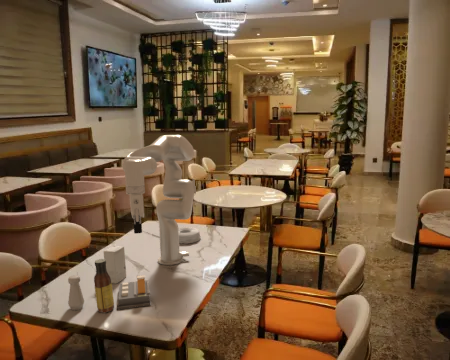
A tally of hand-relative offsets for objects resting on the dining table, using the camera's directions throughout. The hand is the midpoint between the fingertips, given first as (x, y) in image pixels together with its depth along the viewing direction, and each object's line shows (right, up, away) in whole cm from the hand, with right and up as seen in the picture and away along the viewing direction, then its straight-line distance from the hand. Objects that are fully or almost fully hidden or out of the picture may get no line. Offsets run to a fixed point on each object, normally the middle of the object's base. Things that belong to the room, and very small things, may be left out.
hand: (138, 232), depth 163 cm
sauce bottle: (-10, -28, -12) cm, 32 cm away
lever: (+3, -23, -6) cm, 24 cm away
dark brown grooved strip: (+1, -27, -11) cm, 29 cm away
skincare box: (-13, -23, +14) cm, 30 cm away
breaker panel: (-1, -26, -2) cm, 26 cm away
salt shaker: (-22, -28, -11) cm, 37 cm away
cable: (+13, -14, +69) cm, 71 cm away
